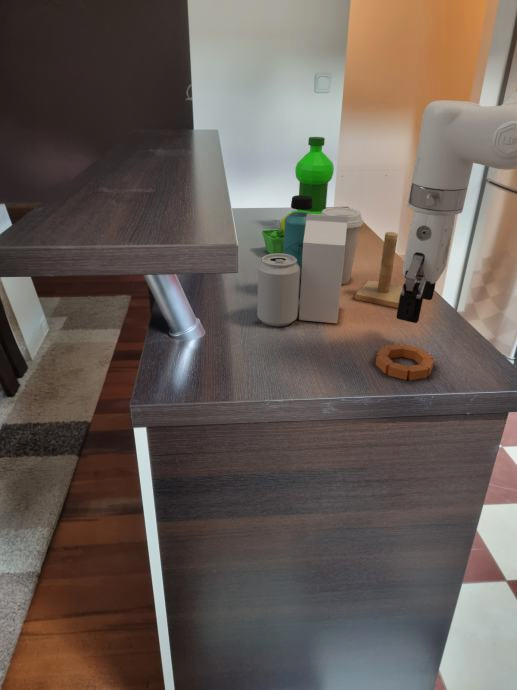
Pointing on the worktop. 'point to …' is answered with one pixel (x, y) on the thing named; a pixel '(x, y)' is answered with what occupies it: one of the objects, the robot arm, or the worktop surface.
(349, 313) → the worktop surface
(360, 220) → the coffee cup
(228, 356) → the worktop surface
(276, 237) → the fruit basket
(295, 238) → the beverage bottle
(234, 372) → the worktop surface
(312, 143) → the plastic bottle
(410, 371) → the ring
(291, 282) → the can
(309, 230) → the milk carton
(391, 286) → the post
